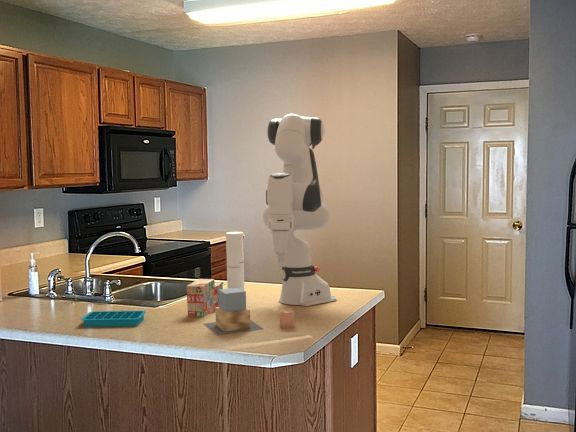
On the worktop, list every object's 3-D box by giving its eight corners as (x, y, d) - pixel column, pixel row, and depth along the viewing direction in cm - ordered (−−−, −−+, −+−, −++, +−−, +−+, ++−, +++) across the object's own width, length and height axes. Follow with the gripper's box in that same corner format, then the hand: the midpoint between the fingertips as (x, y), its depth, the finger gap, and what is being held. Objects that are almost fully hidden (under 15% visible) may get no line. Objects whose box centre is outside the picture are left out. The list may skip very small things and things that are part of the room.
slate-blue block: (238, 305, 214) (238, 287, 214) (246, 309, 208) (245, 291, 208) (219, 307, 212) (218, 289, 211) (225, 312, 205) (225, 293, 205)
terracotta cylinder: (290, 326, 213) (290, 308, 212) (297, 330, 208) (296, 312, 208) (277, 328, 211) (276, 310, 210) (283, 331, 206) (282, 313, 206)
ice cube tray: (139, 327, 216) (139, 318, 216) (80, 328, 217) (79, 319, 216) (147, 318, 228) (146, 310, 228) (91, 319, 228) (90, 311, 228)
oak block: (241, 321, 216) (240, 304, 216) (250, 327, 208) (250, 309, 208) (215, 324, 213) (215, 307, 212) (224, 331, 205) (223, 313, 204)
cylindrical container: (247, 290, 271) (246, 232, 269) (235, 293, 266) (234, 234, 264) (236, 288, 276) (234, 231, 274) (224, 291, 271) (222, 233, 268)
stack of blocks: (208, 305, 246) (207, 274, 245) (223, 305, 245) (222, 274, 244) (187, 319, 225) (186, 285, 224) (204, 320, 224) (203, 285, 223)
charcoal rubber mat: (247, 320, 221) (247, 318, 221) (264, 332, 206) (264, 329, 206) (202, 326, 215) (202, 323, 214) (217, 338, 200) (217, 335, 200)
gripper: (272, 220, 218) (272, 260, 219) (270, 225, 198) (270, 269, 199) (290, 220, 218) (291, 260, 219) (290, 225, 198) (290, 269, 199)
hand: (281, 264), depth 209 cm, fingers open, 8 cm apart
